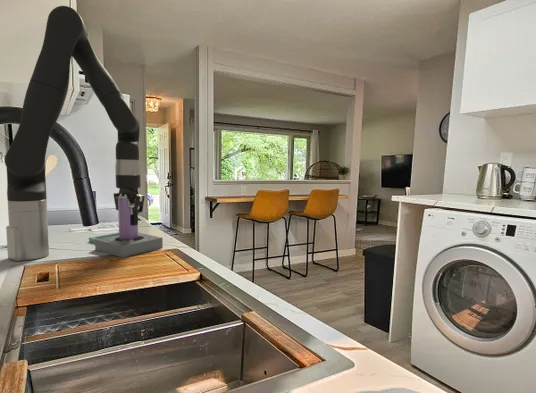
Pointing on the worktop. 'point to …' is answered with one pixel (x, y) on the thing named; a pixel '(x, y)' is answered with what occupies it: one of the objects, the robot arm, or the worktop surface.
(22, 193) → the robot arm
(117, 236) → the socket block
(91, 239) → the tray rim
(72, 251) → the worktop surface
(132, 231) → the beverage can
